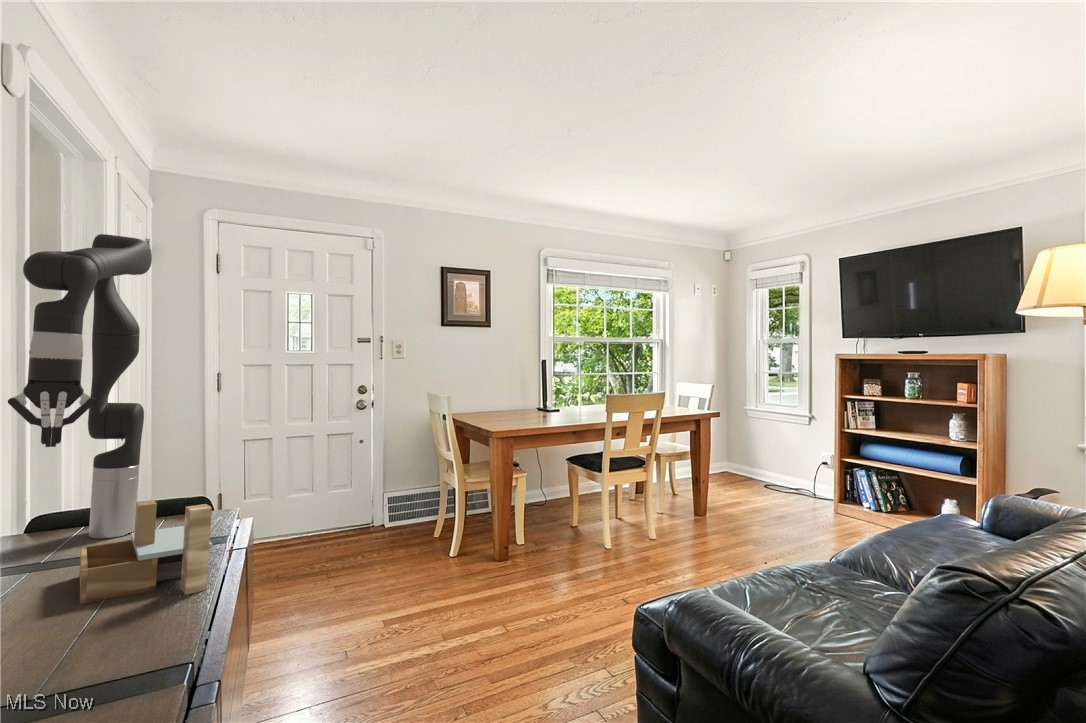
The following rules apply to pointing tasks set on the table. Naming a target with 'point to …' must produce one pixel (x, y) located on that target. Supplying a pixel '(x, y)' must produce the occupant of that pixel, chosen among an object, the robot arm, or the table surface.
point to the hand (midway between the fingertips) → (50, 446)
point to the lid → (155, 534)
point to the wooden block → (196, 548)
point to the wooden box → (121, 571)
